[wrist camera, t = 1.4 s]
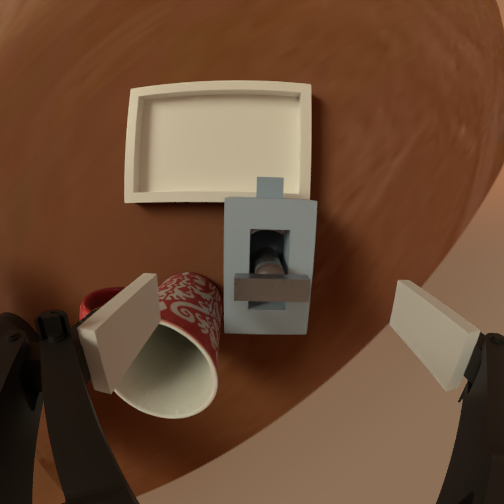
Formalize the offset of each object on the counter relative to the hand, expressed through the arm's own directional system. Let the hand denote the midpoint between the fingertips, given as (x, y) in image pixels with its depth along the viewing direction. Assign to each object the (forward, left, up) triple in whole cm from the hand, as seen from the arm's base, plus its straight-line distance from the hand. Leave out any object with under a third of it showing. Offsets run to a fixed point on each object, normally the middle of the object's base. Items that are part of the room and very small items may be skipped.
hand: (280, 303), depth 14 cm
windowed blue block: (0, 0, -10) cm, 10 cm away
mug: (-10, -6, -15) cm, 19 cm away
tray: (-5, +10, -15) cm, 19 cm away
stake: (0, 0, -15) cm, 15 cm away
